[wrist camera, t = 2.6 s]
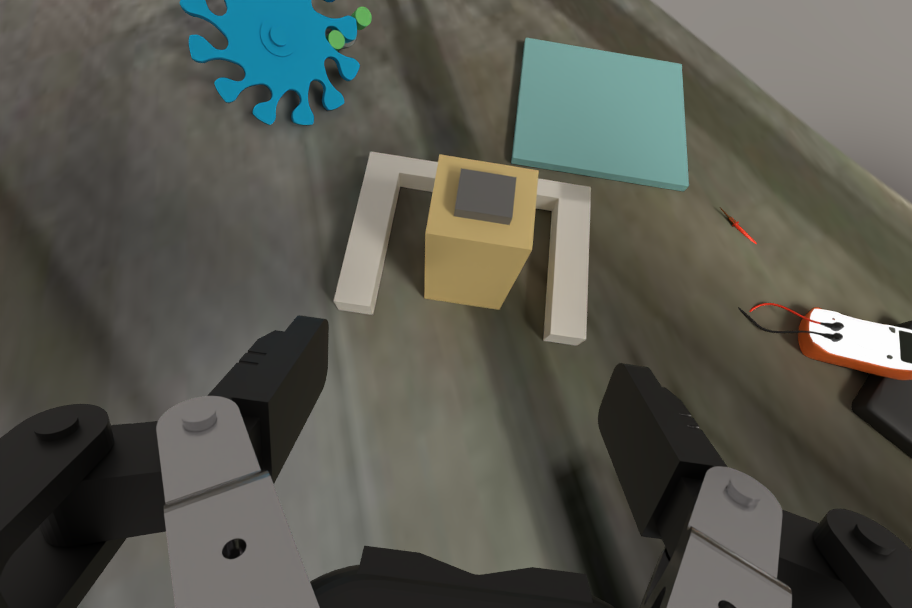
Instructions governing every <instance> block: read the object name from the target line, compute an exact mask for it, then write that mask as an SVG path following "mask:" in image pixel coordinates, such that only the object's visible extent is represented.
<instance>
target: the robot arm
mask: <svg viewBox="0 0 912 608" xmlns="http://www.w3.org/2000/svg"><path fill="white" fill-rule="evenodd" d="M328 330H329V328H328V321H327V320H326V319H321V318H314V317H307V316H300V315H299V316H297V317H296V318H295V319H294V321H293V322H292V323H291V324H290V326H289V327H288V328H287V329H286V331H285V332H283V331H276V330H275V331H273V332H271V333H269V334H267V335H265V336H263V337H261V338H259V339H258V340H257V341H256V342H255V343H254V344H253V346H252V347H251V348H250V349H249V350H248V353H245V354H244V356H243V357H242V358H241V359H240V360H239V363H236V364H235V366H234V367H233V368H232V369H231V370H230V371H229V372H228V373H227V375H226V376H225V377H224V378H223V379H222V380H221V381H220V382H219V383H218V385H217V386H216V387H215V388H214V389H213V390H212V391H211V392H210V393H209V395H208V396H202V397H196V398H192V399H188V400H186V401H183V402H181V403H179V404H177V405H175V406H173V407H171V408H170V409H169V410H167V411H166V412H165V413H164V414H163V415H162V416H161V417H160V419H159V421H154V422H145V423H134V424H122V425H110V421H109V417H108V414H107V412H106V411H105V410H104V409H102V408H100V407H98V406H95V405H89V404H73V405H66V406H61V407H56V408H53V409H49V410H46V411H44V412H41V413H38V414H36V415H34V416H32V417H30V418H28V419H26V420H24V421H23V422H21V423H20V424H18V425H17V426H16V427H14V428H13V429H12V430H10V431H9V432H8V433H6V434H5V435H4V436H3V437H1V438H0V608H77V606H78V605H79V604H80V602H81V601H82V599H83V598H84V597H85V595H86V594H87V593H88V591H89V590H90V588H91V587H92V586H93V584H94V583H95V581H96V580H97V579H98V577H99V576H100V574H101V573H102V572H103V570H104V569H105V567H106V566H107V565H108V563H109V562H110V560H111V559H112V558H113V556H114V555H115V553H116V552H117V551H118V549H119V548H120V547H121V545H122V544H123V542H124V541H125V540H126V538H128V537H134V536H140V535H146V534H152V533H159V532H165V531H166V534H167V542H168V551H169V559H170V568H171V576H172V585H173V593H174V602H175V608H614V607H613V606H611V605H610V604H608V603H606V602H604V601H602V600H600V599H598V598H596V597H594V596H592V595H591V592H590V588H589V584H588V580H587V576H586V574H580V573H573V572H565V571H557V570H549V569H541V568H534V567H531V568H525V569H518V570H511V571H504V572H497V573H491V574H484V575H475V574H472V573H469V572H466V571H464V570H461V569H459V568H456V567H454V566H451V565H449V564H446V563H444V562H441V561H439V560H436V559H434V558H431V557H429V556H426V555H424V554H421V553H417V552H409V551H401V550H394V549H386V548H378V547H370V546H364V549H363V554H362V558H361V562H360V565H354V566H349V567H345V568H341V569H337V570H334V571H332V572H329V573H327V574H324V575H322V576H320V577H318V578H316V579H314V580H312V581H309V578H308V575H307V572H306V570H305V567H304V564H303V562H302V559H301V556H300V554H299V551H298V548H297V546H296V543H295V540H294V538H293V535H292V532H291V530H290V527H289V524H288V522H287V519H286V516H285V513H284V511H283V508H282V505H281V503H280V500H279V497H278V495H277V492H276V489H275V487H274V483H275V481H276V479H277V477H278V475H279V473H280V471H281V469H282V467H283V465H284V463H285V461H286V460H287V458H288V456H289V454H290V452H291V450H292V448H293V446H294V444H295V442H296V440H297V438H298V436H299V434H300V432H301V430H302V429H303V427H304V425H305V423H306V421H307V419H308V417H309V415H310V413H311V411H312V409H313V407H314V405H315V403H316V401H317V400H318V398H319V396H320V394H321V392H322V390H323V387H324V384H325V381H326V376H327V369H328ZM598 424H599V429H600V432H601V435H602V437H603V440H604V442H605V445H606V448H607V450H608V453H609V455H610V458H611V460H612V463H613V466H614V468H615V471H616V473H617V476H618V478H619V481H620V483H621V486H622V489H623V491H624V494H625V496H626V499H627V501H628V504H629V506H630V509H631V512H632V514H633V517H634V519H635V522H636V524H637V527H638V530H639V532H640V535H641V536H643V537H651V538H658V539H662V540H663V542H664V545H665V547H664V549H663V551H662V553H661V555H660V556H659V559H658V562H657V564H656V567H655V569H654V572H653V574H652V577H651V580H650V582H649V585H648V587H647V590H646V592H645V595H644V598H643V600H642V603H641V605H640V608H912V551H911V550H910V549H909V548H908V547H907V546H906V545H905V544H904V543H903V542H902V541H901V540H900V539H899V538H898V537H896V536H895V535H894V534H893V533H891V532H890V531H889V530H887V529H886V528H884V527H883V526H881V525H880V524H878V523H876V522H875V521H873V520H871V519H869V518H867V517H865V516H863V515H861V514H858V513H855V512H853V511H849V510H845V509H833V510H830V511H829V512H828V513H827V514H826V516H825V517H824V518H823V520H822V521H821V522H820V523H817V522H814V521H811V520H809V519H806V518H803V517H801V516H798V515H795V514H792V513H790V512H787V511H784V510H782V509H781V506H780V504H779V502H778V500H777V499H776V498H775V496H774V495H773V494H772V493H771V492H770V491H769V490H768V489H767V488H766V487H765V486H763V485H762V484H761V483H760V482H758V481H757V480H755V479H754V478H752V477H750V476H749V475H747V474H745V473H743V472H741V471H738V470H735V469H732V468H729V467H727V465H726V464H725V463H724V461H723V460H722V458H721V457H720V455H719V454H718V453H717V451H716V450H715V448H714V447H713V445H712V444H711V443H710V441H709V440H708V438H707V437H706V435H705V434H704V433H703V431H702V430H700V429H699V426H698V424H697V423H696V421H695V420H694V418H691V414H690V413H689V411H688V410H687V408H686V407H685V406H684V404H683V403H682V401H681V400H680V399H678V398H677V397H676V396H675V395H674V394H672V393H671V392H670V391H669V390H668V389H666V388H664V387H661V385H660V384H659V382H658V381H657V379H656V378H655V376H654V375H653V373H652V372H651V370H650V369H649V368H648V367H643V366H636V365H630V364H623V363H619V364H618V365H617V366H616V367H615V369H614V371H613V373H612V376H611V379H610V381H609V384H608V387H607V389H606V392H605V395H604V397H603V400H602V403H601V405H600V409H599V414H598Z"/></svg>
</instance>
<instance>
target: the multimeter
mask: <svg viewBox="0 0 912 608" xmlns="http://www.w3.org/2000/svg"><path fill="white" fill-rule="evenodd" d="M720 209H721V208H720ZM721 210H722V209H721ZM722 211H723V210H722ZM723 212H724V211H723ZM724 213H725V212H724ZM725 214H726V213H725ZM726 216H727V217H728V220H729V221H730V222H731V223H732V224H733V226H735V227H736V228H737V229H738V230H739V231H740V232H741V233H742V234H744V235H745V236H746V237H747V238H748V239H750V240H751V241H752V242H754V243H755V244H757V243H756V242H755V241H754V240H753V239H752V238H751V237H750V236H749V235H748V234H747V233H746V232H745V231H744V230H743V229H742V228H741V227H740V226H739V225H738V223H739V222H736V221H735V220H734V219H733V218H732V217H730V216H728V215H727V214H726ZM733 226H732V227H733ZM763 305H774V306H778V307H781V308H783V309H786V310H788V311H790V312H792V313H794V314H795V315H797V316H799V317H801V318H802V320H801V322H800V325H799V331H771V330H767V329H765V328H763V327H761V326H760V325H758V324H757V323H756V322H755V321H754V320H753V319H752V318H751V317H750V316H748V315H747V314H746V313H745V312H744V311H743V310H741V309H740V308H739V310H740V311H741V312H742V313H743V314H744V315H745V316H746V317H747V318H749V319H750V320H751V321H752V322H753V323H754V324H755V325H756V326H757V327H759V328H760V329H762V330H764V331H767V332H771V333H798V341H799V346H800V349H801V351H802V353H803V354H804V355H805V356H807V357H809V358H811V359H815V360H818V361H822V362H827V363H831V364H835V365H839V366H843V367H847V368H851V369H855V370H859V371H863V372H867V373H870V375H869V376H868V378H867V380H866V381H865V383H864V385H863V386H862V388H861V389H860V391H859V393H858V394H857V396H856V397H855V399H854V400H853V402H852V411H853V412H854V413H855V414H857V415H858V416H859V417H860V418H862V419H863V420H864V421H865V422H867V423H868V424H869V425H871V426H872V427H873V428H874V429H876V430H877V431H878V432H879V433H881V434H882V435H883V436H884V437H886V438H887V439H888V440H889V441H891V442H892V443H893V444H895V445H896V446H897V447H898V448H900V449H901V450H902V451H903V452H905V453H906V454H907V455H908V456H910V457H911V458H912V321H908V322H905V323H901V324H898V325H896V326H891V325H884V324H879V323H874V322H869V321H864V320H860V319H856V318H852V317H849V316H845V315H842V314H840V313H838V312H834V311H829V310H823V309H821V308H818V307H814V308H812V309H811V310H810V311H809V312H808V313H807V314H806V315H805V316H802V315H800V314H798V313H796V312H794V311H793V310H791V309H789V308H786V307H784V306H781V305H778V304H774V303H763V304H759V305H757V306H755V307H753V308H752V309H751V310H750V312H751V311H753V310H754V309H755V308H757V307H760V306H763Z"/></svg>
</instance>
